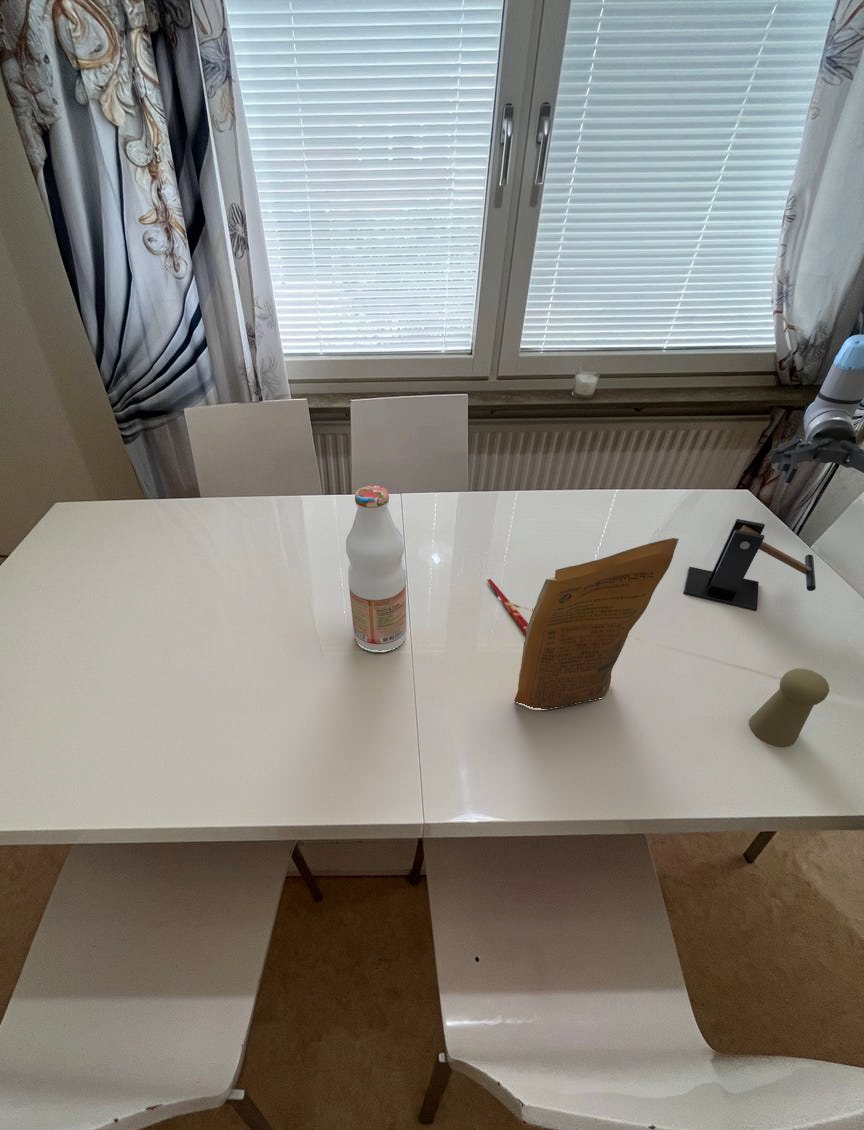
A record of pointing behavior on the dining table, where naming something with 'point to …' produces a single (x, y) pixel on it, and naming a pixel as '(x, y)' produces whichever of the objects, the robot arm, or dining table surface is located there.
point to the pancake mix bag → (587, 624)
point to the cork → (789, 707)
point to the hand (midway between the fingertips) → (836, 483)
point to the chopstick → (510, 608)
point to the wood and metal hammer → (790, 561)
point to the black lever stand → (730, 570)
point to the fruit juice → (376, 573)
